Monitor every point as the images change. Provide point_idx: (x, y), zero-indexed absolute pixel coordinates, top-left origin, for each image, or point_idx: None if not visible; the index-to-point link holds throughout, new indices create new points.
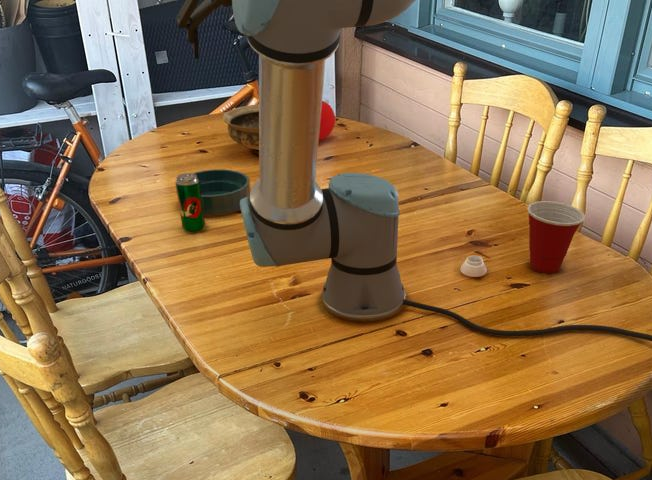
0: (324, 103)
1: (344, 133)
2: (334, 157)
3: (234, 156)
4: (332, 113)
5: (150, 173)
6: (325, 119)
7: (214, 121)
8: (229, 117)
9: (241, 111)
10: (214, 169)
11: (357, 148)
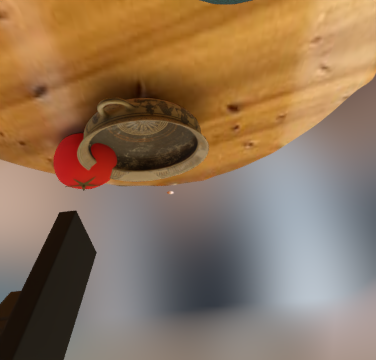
0: (66, 183)
1: (47, 152)
2: (31, 94)
3: (190, 96)
4: (55, 170)
5: (323, 46)
6: (61, 159)
7: (213, 167)
8: (198, 152)
9: (182, 166)
10: (232, 3)
11: (7, 119)
